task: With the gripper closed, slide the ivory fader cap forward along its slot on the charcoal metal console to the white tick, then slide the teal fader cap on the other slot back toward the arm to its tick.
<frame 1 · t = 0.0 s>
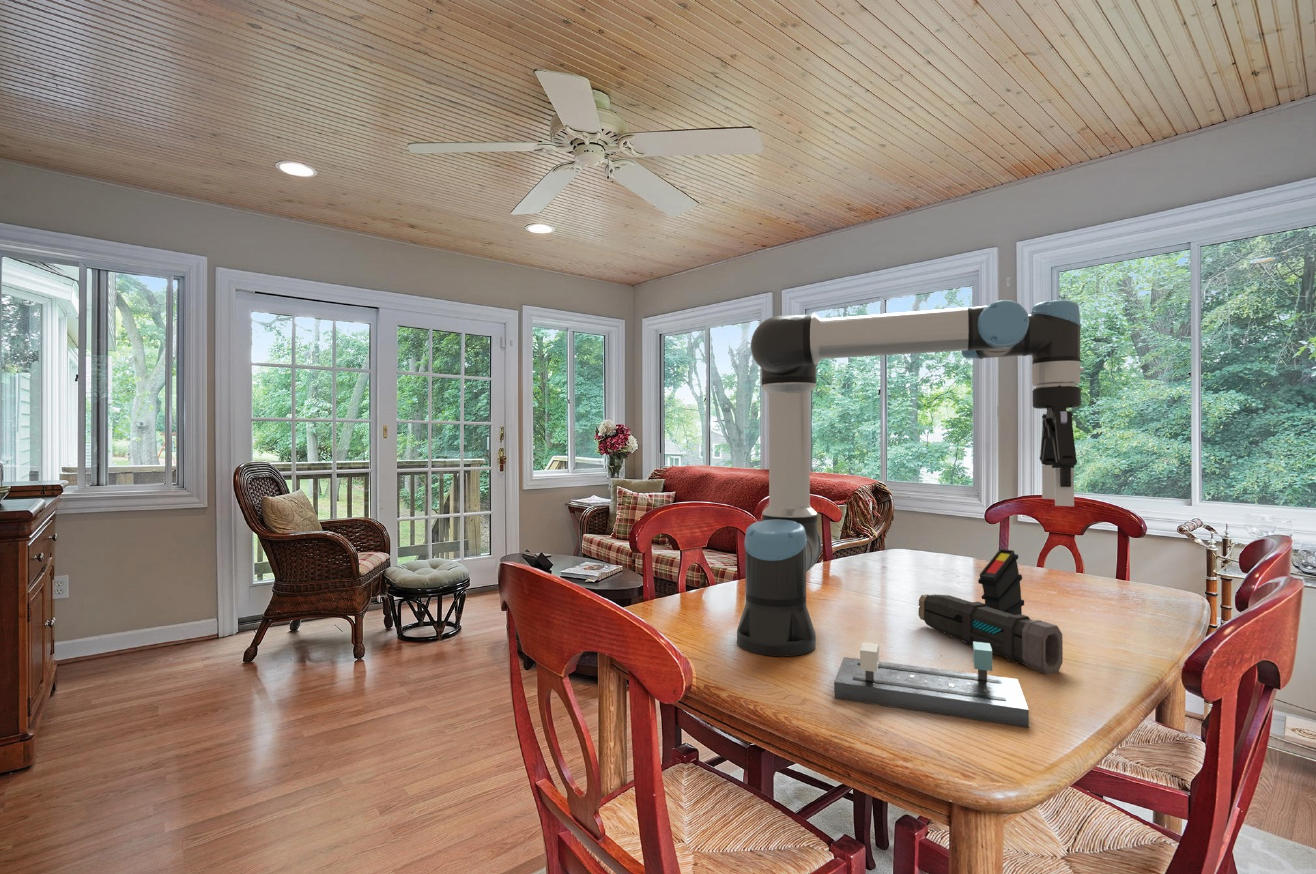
hand: (1057, 502, 115), 28 cm above the table, fingers open, 13 cm apart
fader far: (982, 662, 97), point 5 cm above the table, slide at 0.0 cm
fader near: (869, 663, 97), point 5 cm above the table, slide at 0.0 cm
magazine: (1001, 620, 138), on the table
console: (926, 696, 97), on the table
tube: (980, 648, 120), on the table
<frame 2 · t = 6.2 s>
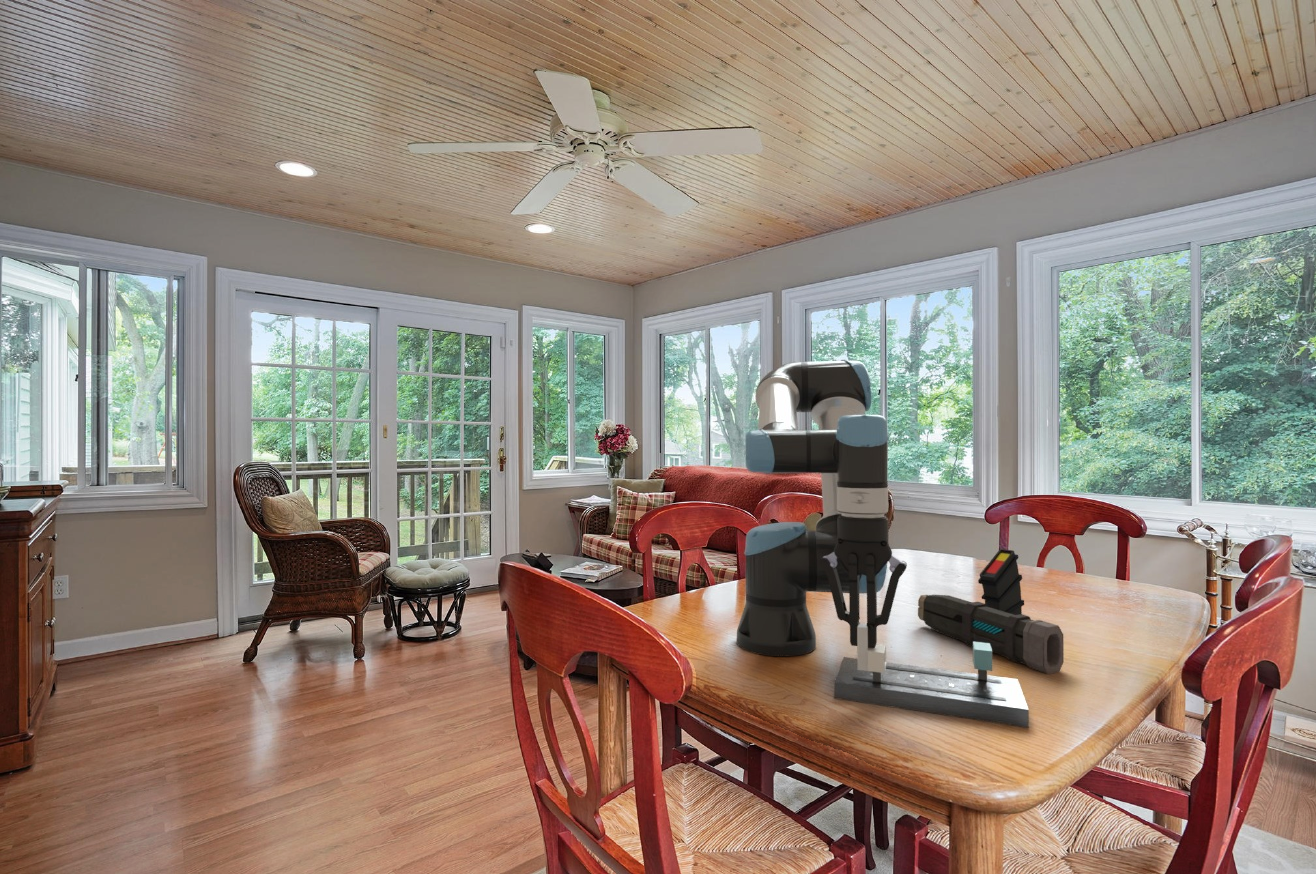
hand: (863, 667, 97), 5 cm above the table, fingers closed
fader near: (876, 664, 97), point 5 cm above the table, slide at 1.1 cm, touching gripper
everything else where it was.
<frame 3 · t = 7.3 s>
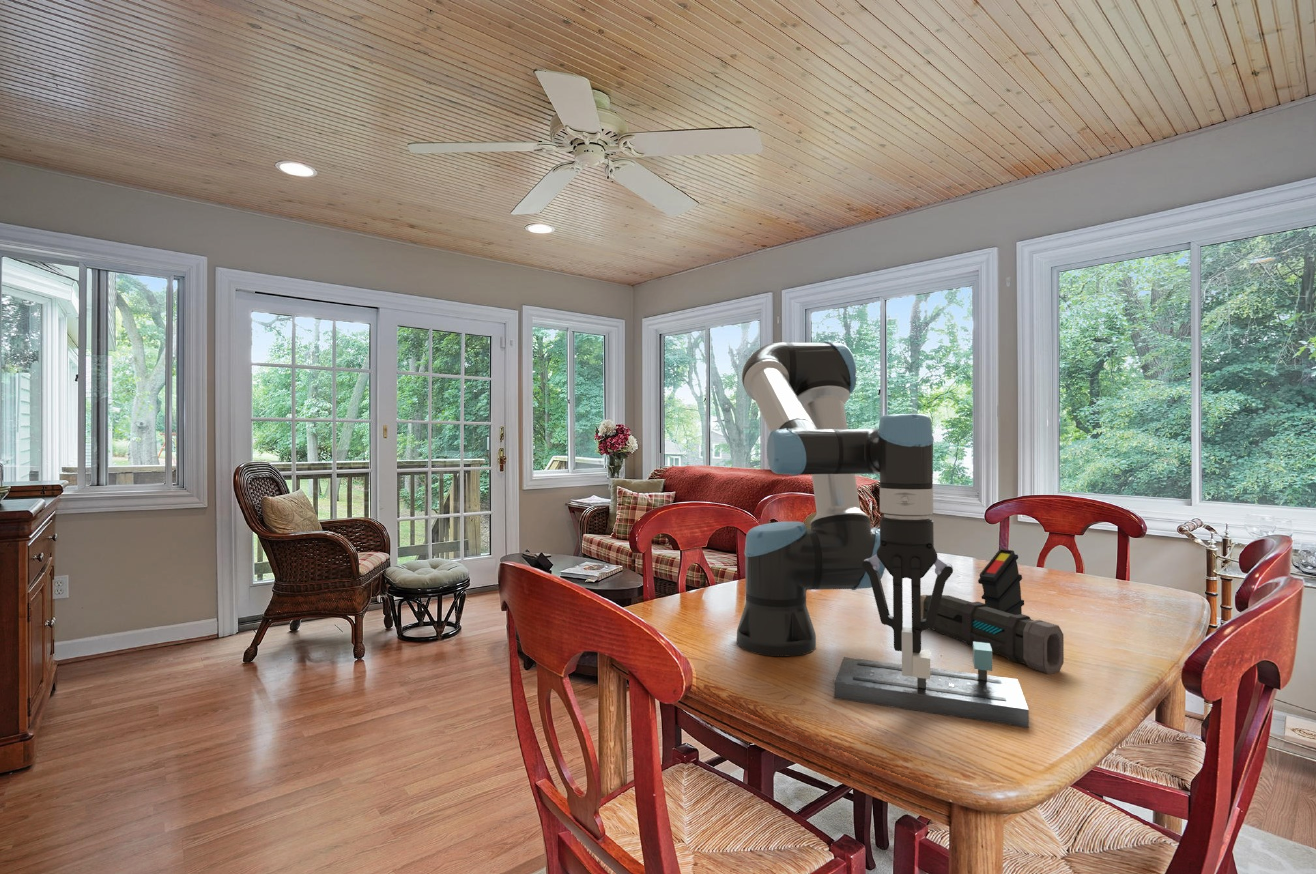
hand: (907, 673, 95), 5 cm above the table, fingers closed
fader near: (921, 670, 94), point 5 cm above the table, slide at 7.4 cm, touching gripper
everything else where it was.
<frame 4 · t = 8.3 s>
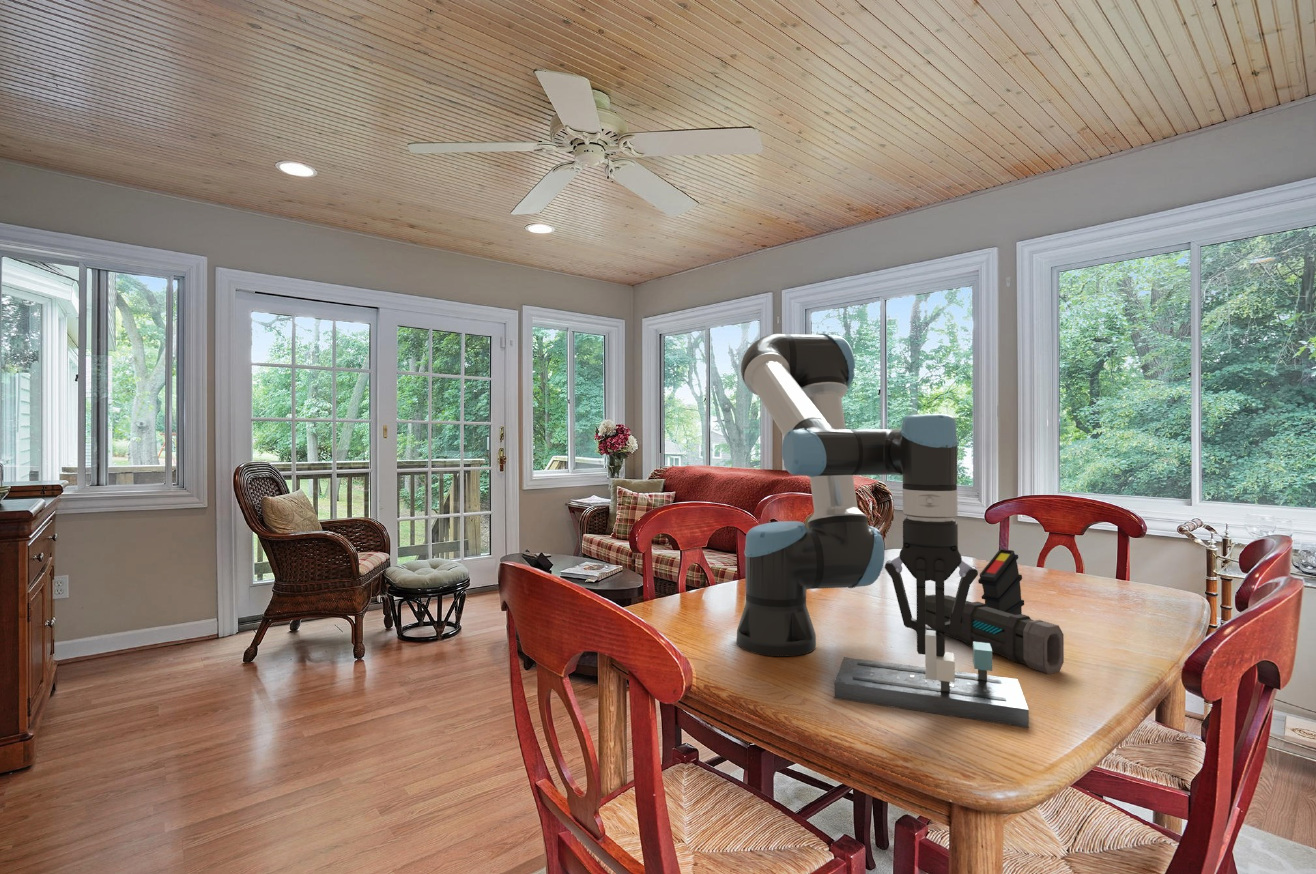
hand: (931, 676, 94), 4 cm above the table, fingers closed
fader near: (945, 673, 93), point 5 cm above the table, slide at 10.6 cm, touching gripper
everything else where it was.
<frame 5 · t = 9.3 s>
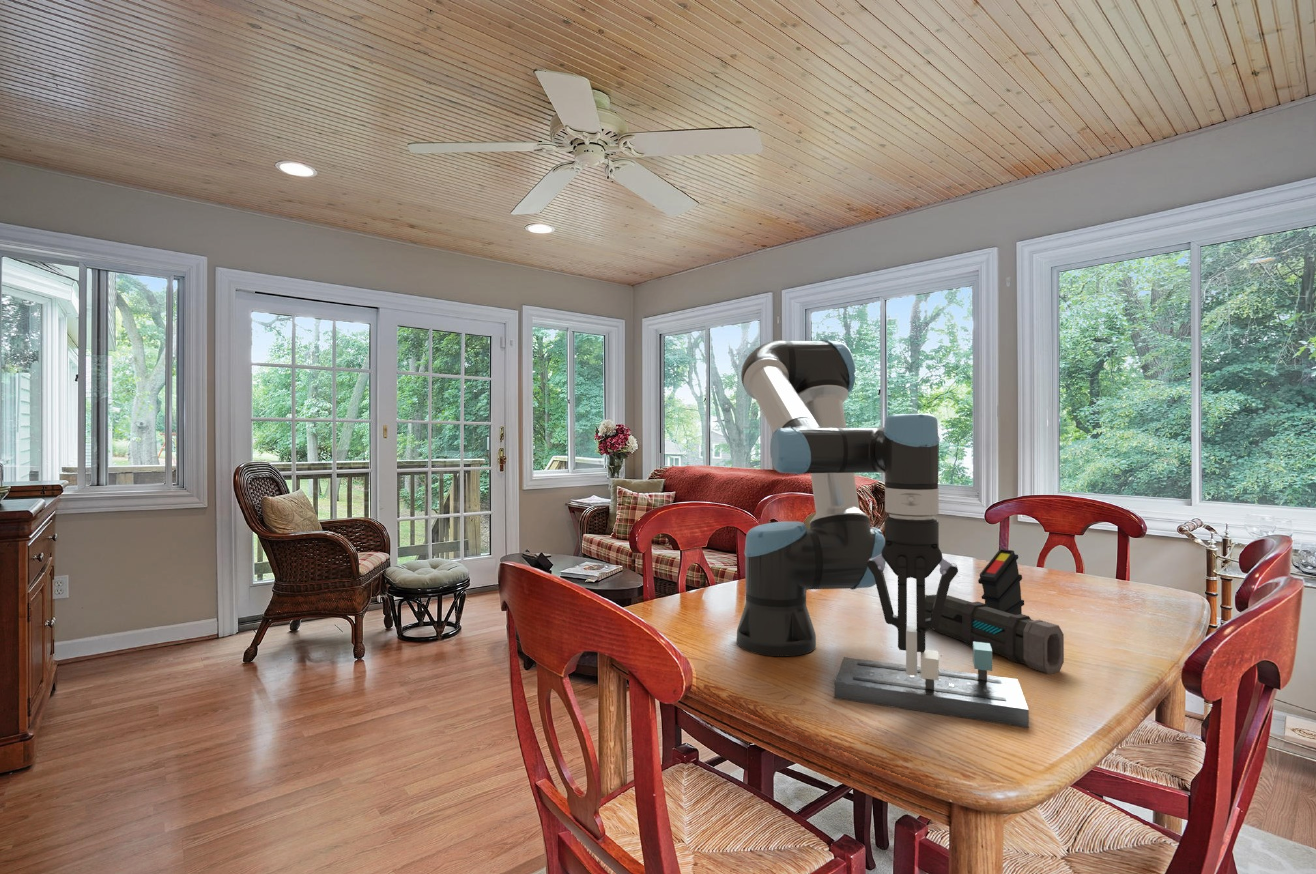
hand: (911, 671, 95), 5 cm above the table, fingers closed
fader near: (929, 671, 94), point 5 cm above the table, slide at 8.5 cm
everything else where it was.
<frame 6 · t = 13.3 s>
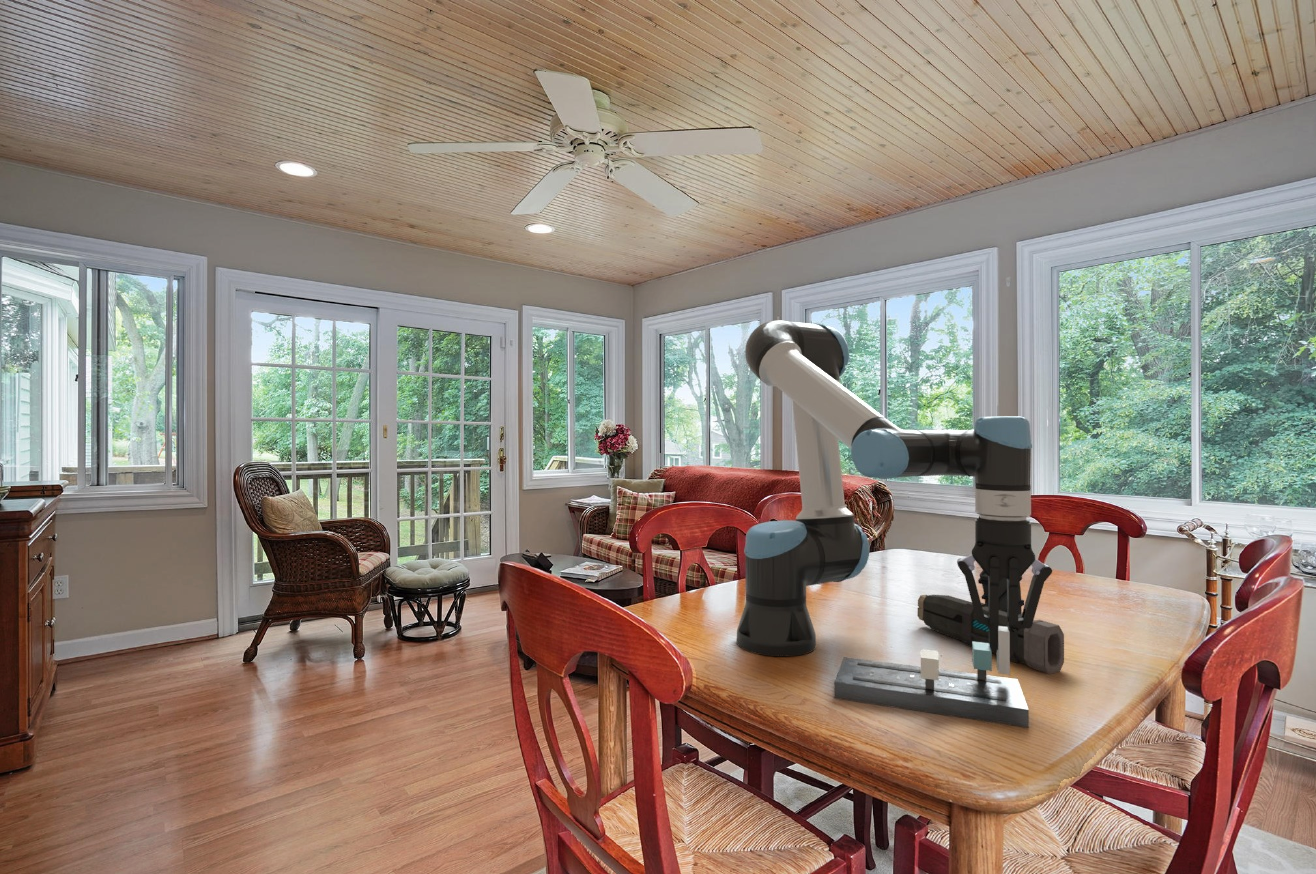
hand: (1003, 671, 96), 4 cm above the table, fingers closed
fader far: (981, 662, 97), point 5 cm above the table, slide at 0.1 cm, touching gripper
everything else where it was.
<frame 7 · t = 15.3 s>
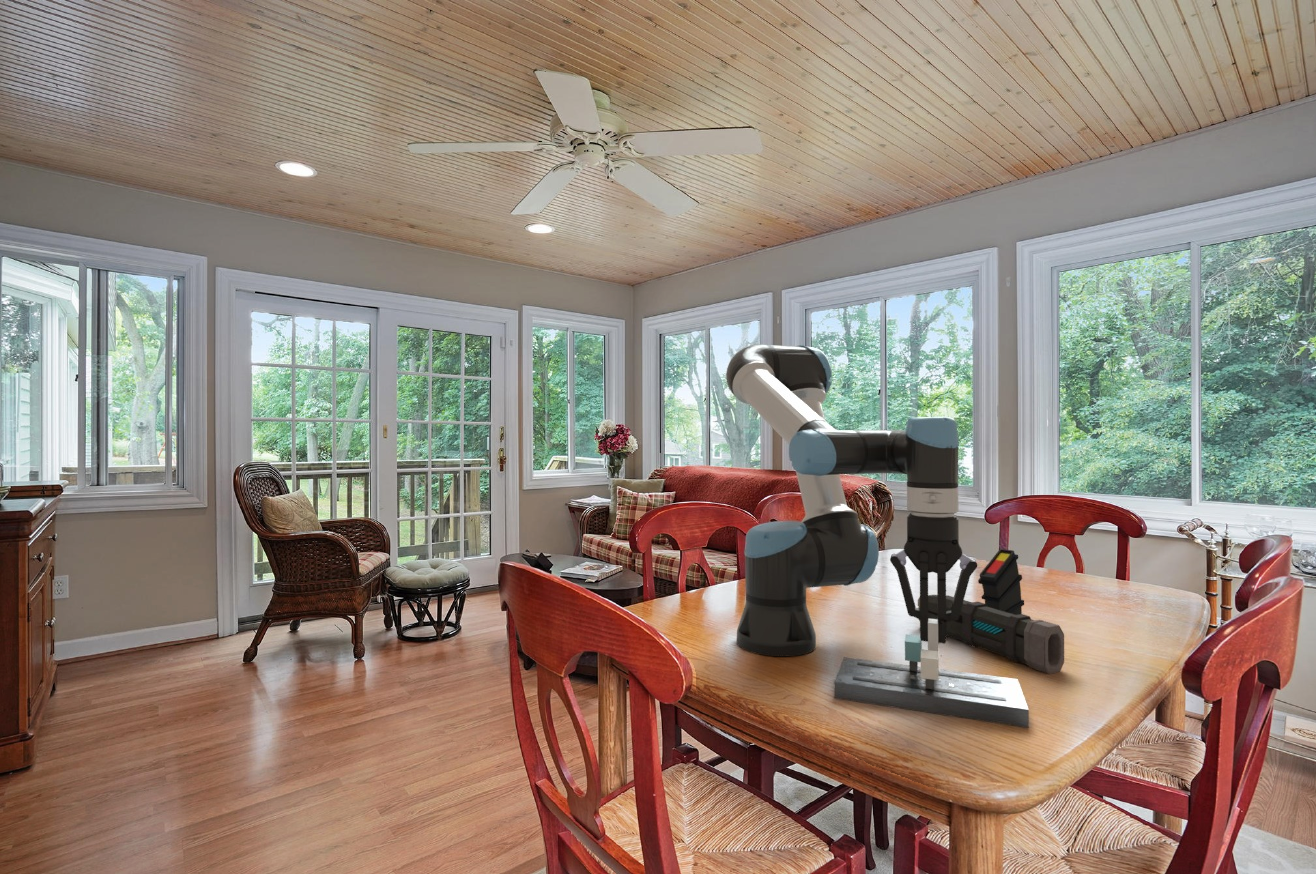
hand: (933, 661, 100), 4 cm above the table, fingers closed
fader far: (913, 654, 101), point 5 cm above the table, slide at 9.9 cm, touching gripper
everything else where it was.
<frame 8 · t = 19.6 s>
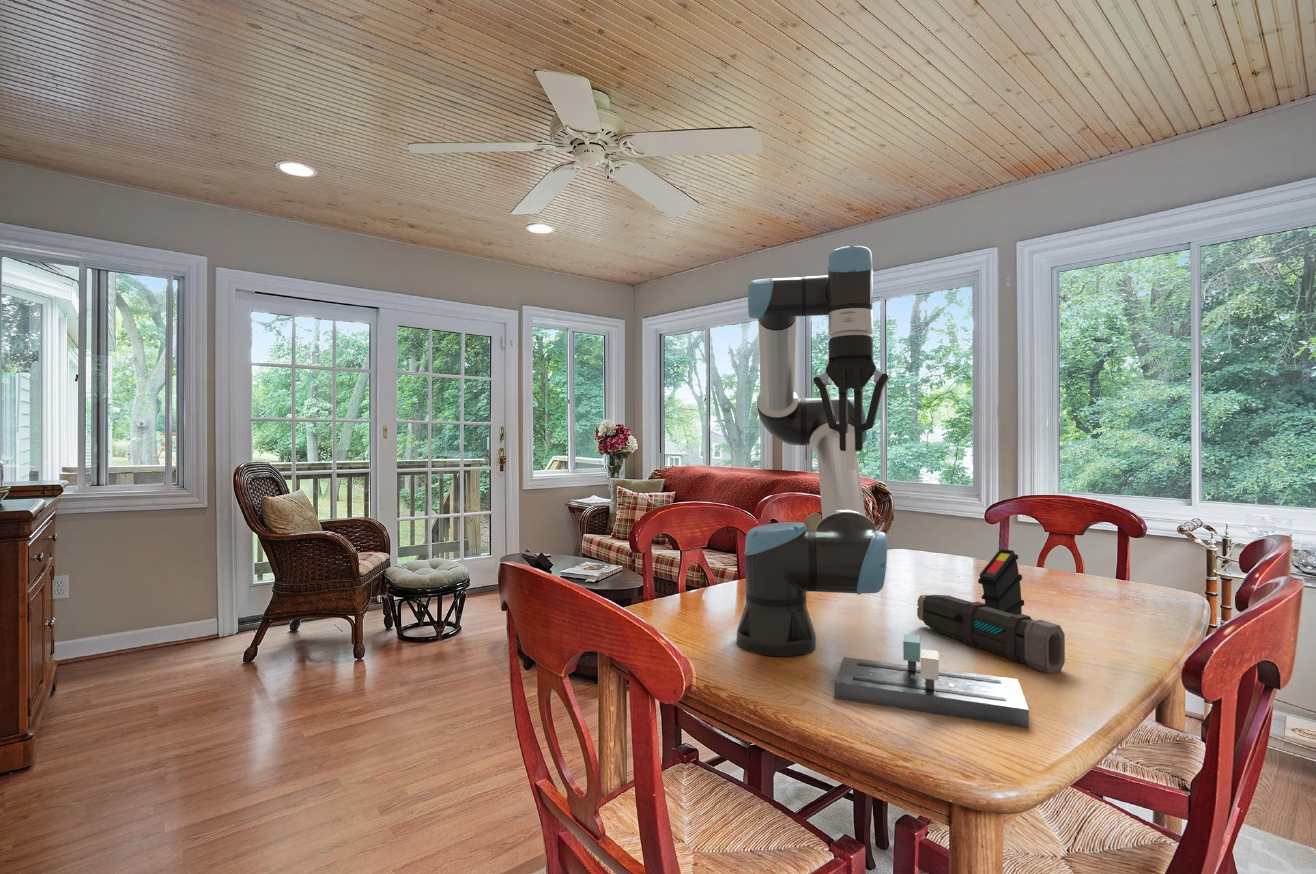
hand: (851, 469, 111), 34 cm above the table, fingers closed
fader far: (911, 654, 101), point 5 cm above the table, slide at 10.1 cm
everything else where it was.
at the end: fader near slide at 8.5 cm; fader far slide at 10.1 cm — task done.
